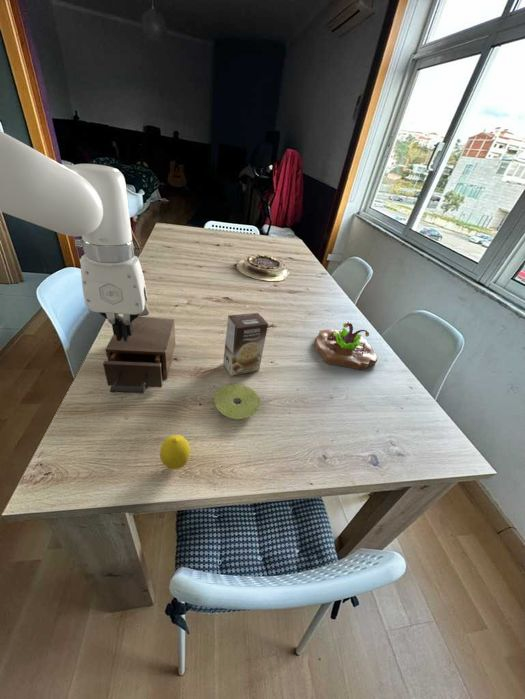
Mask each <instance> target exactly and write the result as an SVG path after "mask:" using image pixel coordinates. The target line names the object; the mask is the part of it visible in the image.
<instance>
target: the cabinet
mask: <svg viewBox="0 0 525 699" xmlns="http://www.w3.org/2000/svg"><path fill="white" fill-rule="evenodd" d="M121 318H122V319H123V317H121ZM175 322H176V320H175V318H165V317H148V316H138V317H137V318H135V319H134V320H133V321H132V327H133V334H132V336H130V337H129V339H128V341H124V340H123V337H122V339H121V340H120V341H117V339H116V335H114V333H113V334H112V336H111V338H110V340H109V342H108V343H107V345H106V348H105V350H104V351H105V354H106V358H107V359H106V360H107V361H111V356H112V354H113V353H132V354H152V355H162V362H163V370H162V380H163V379H168V377H169V373H170V369H171V364H172V360H173V355H174V353H175V352H174V351H175V347H176V324H175Z"/></svg>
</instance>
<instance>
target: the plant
mask: <svg viewBox="0 0 525 699" xmlns="http://www.w3.org/2000/svg"><path fill="white" fill-rule="evenodd" d="M342 327H343V328H342V329H321V330H319V331H318V335H317V336H316V337H315V341H314V346H315V351H316V353H318V354H319V355H320V356H321V357H322V359H323V360H324V363H325V364H328V365H332V366H339V367H343V368H352V369H355V370H357V371H358V370H367V368H368V367H374V366H375V365H376V363H377V361H378V355H377V354H376V352H375V350H374V349H373V348H372V346H371V344H370V343H369V342H368V341H367V339H365V337H370V333H369V331H367V330H366V329H359V330H356V331H355V332H354V326H353V324H352V323H351V322H350V321H347V322H345V323H343V324H342ZM346 328H348V329H349V330H347V329H346ZM361 332H365V334H364V335H365V337H363V336H362V334H360V333H361Z"/></svg>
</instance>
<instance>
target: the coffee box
mask: <svg viewBox="0 0 525 699" xmlns="http://www.w3.org/2000/svg"><path fill="white" fill-rule="evenodd" d="M268 327H269V323H268V321H267V320H266V319H265V318H264V317H263V316H262V315H260V313H259V312H253V313H244V314H243V313H239V314H230V315H227V323H226V333H225V340H224V341H225V342H224V352H223V361H222V363H223V365H224V367H225V369H226V371H227V372H228V374H229V376H230V377H231V376H238V375H243V374H247V373H254V372H258V371H260V370H261V369H260V368H261V363H262V359H263V354H264V348H265V343H266V338H267V333H268V332H267V331H268Z"/></svg>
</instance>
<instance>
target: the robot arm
mask: <svg viewBox="0 0 525 699" xmlns="http://www.w3.org/2000/svg"><path fill="white" fill-rule="evenodd" d="M0 213H4V214H7V215H9V216H12V217H14V218H18V219H20V220H23V221H26V222H27V223H28V222H29V223H31V224H33V225H36V226H39V227H42V228H45V229H47V230H50V231H53V232H55V233H59V234H61V235H64V236H68V237H81V238H79V239H78V238H75V239H74V246H75V248H80V249H81V250H83V255H81V257H80V275H81V276H80V277H81V286H82V294H83V300H84V304H85V307H86V309H87V310H88V311H89V312H92V313H96V314H98V315H101V316H102V317H103V318H105V319H106V320H107V322H108V324H110V325H111V327H112V333H113V334H114V335H116V339H117V341H120V340H121V339H122V337H123V340H124V341H128V339H129V337H130V336H132V334H133V327H132V321H133V320H134V319H135V318H137V317H147V316H149V314H150V312H151V309H150V306H149V304H148V293H147V286H146V281H145V277H144V271H143V269H142V265H141V262H140V259H139V257H138V256H137V255H135V251H134V241H133V234H132V233H133V232H132V226H131V216H130V209H129V201H128V192H127V183H126V179H125V176H124V174H123V173H122V172H121V171H120V170H119V169H118V168H115V167H113V166H108V165H103V164H97V163H76V164H73V165H72V164H62V163H59V162H58V161H56V160H54V159H52V158H51V157H49V156H47V155H45V154H44V153H42V152H40V151H38V150H36V149H35V148H33V147H31V146H29V145H27V144H26V143H24V142H22V141H20V140H18V139H17V138H15V137H13V136H11V135H9V134H7V133H6V132H3V131H2V130H0ZM120 315H122V316H120ZM122 318H123V319H122Z"/></svg>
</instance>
